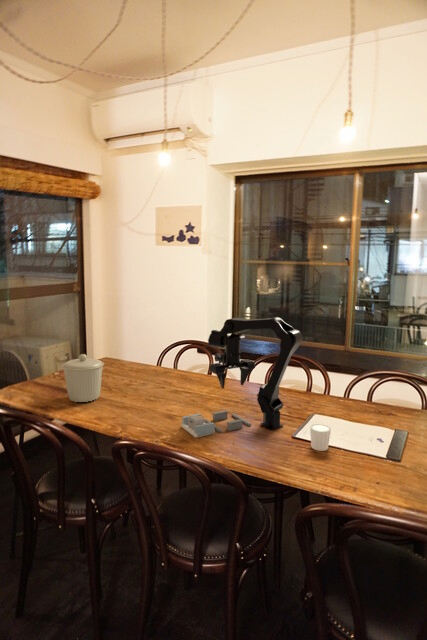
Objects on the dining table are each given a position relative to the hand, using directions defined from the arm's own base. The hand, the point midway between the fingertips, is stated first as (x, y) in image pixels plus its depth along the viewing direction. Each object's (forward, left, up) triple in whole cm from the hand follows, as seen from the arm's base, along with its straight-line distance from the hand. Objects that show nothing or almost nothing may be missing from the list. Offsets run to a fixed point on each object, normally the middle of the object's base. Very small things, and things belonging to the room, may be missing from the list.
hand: (232, 386), depth 172 cm
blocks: (-6, +6, -12) cm, 15 cm away
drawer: (-6, +19, -12) cm, 24 cm away
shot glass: (-39, -11, -13) cm, 42 cm away
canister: (+50, +48, -13) cm, 70 cm away
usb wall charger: (-6, +19, -11) cm, 23 cm away
